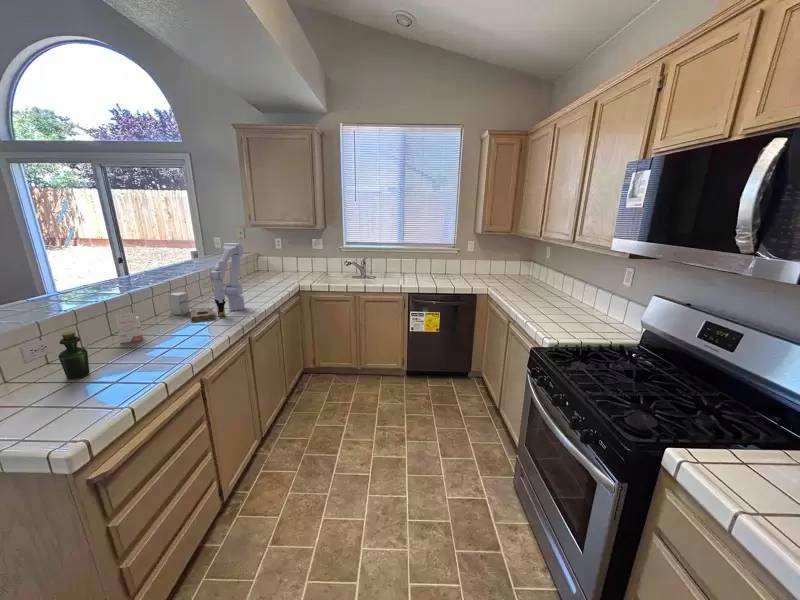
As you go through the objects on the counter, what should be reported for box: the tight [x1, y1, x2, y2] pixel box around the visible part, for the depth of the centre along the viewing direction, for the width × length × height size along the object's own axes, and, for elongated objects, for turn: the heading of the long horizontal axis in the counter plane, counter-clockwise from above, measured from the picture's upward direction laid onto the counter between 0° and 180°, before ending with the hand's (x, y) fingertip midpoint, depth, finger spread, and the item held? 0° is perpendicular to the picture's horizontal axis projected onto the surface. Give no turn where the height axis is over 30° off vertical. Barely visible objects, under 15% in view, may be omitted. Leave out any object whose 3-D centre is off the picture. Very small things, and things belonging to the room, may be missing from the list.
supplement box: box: [167, 291, 190, 315], centre depth 209 cm, size 7×7×13 cm
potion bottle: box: [58, 331, 90, 380], centre depth 129 cm, size 8×8×18 cm
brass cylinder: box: [216, 305, 226, 318], centre depth 206 cm, size 4×4×8 cm
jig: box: [190, 307, 216, 322], centre depth 204 cm, size 12×16×3 cm
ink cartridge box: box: [114, 312, 144, 344], centre depth 164 cm, size 9×5×15 cm, turn 117°
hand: (221, 311), depth 206 cm, fingers closed on brass cylinder, 4 cm apart
